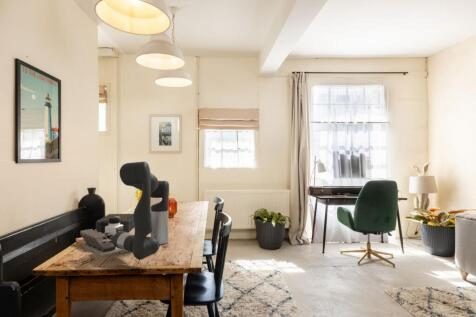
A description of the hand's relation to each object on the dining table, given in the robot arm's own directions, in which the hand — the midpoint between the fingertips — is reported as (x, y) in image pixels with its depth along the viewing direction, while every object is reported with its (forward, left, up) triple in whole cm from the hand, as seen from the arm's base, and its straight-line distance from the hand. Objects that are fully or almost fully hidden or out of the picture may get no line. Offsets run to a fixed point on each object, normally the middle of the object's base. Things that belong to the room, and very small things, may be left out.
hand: (106, 234), depth 146 cm
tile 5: (+11, -13, -6) cm, 18 cm away
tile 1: (-2, +2, -7) cm, 7 cm away
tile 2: (+1, -2, -7) cm, 7 cm away
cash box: (+5, -49, -8) cm, 50 cm away
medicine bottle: (+2, -25, -8) cm, 26 cm away
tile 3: (+4, -5, -7) cm, 10 cm away
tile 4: (+8, -9, -6) cm, 13 cm away
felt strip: (+4, -4, -8) cm, 10 cm away
